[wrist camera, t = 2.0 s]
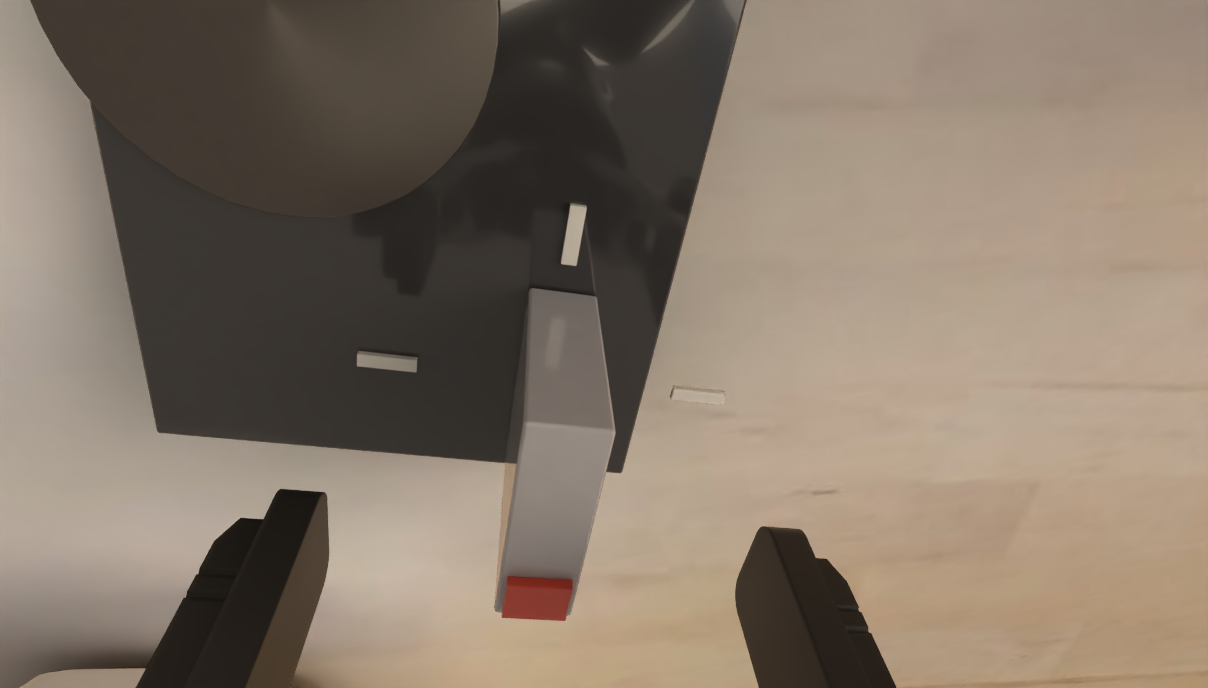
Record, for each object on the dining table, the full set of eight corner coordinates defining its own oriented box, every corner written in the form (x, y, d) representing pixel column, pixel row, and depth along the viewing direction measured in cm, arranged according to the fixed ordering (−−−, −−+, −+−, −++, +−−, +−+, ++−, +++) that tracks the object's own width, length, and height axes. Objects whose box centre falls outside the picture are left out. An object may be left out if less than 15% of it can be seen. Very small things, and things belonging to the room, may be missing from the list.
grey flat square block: (529, 286, 15) (522, 432, 11) (597, 294, 16) (618, 440, 11) (505, 451, 18) (493, 623, 13) (564, 456, 18) (571, 628, 14)
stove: (88, -349, 11) (-26, -417, 9) (856, -153, 14) (919, -168, 11) (206, 421, 20) (163, 484, 17) (667, 463, 22) (681, 524, 20)
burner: (-48, -372, 9) (-64, -380, 9) (524, -228, 11) (524, -231, 10) (77, 180, 13) (68, 186, 13) (480, 237, 15) (479, 243, 14)
